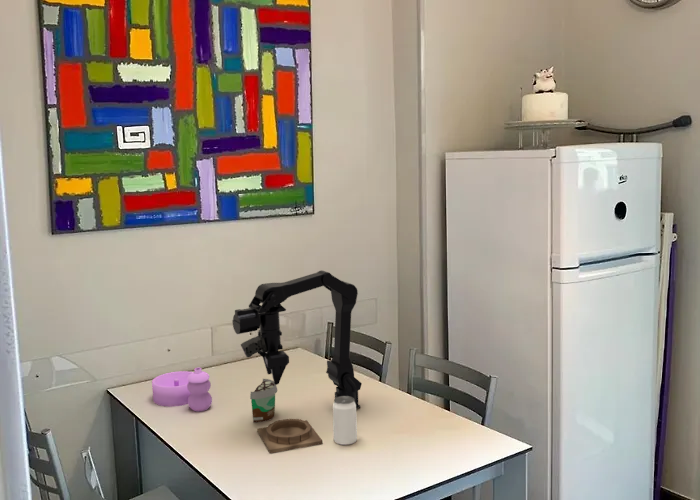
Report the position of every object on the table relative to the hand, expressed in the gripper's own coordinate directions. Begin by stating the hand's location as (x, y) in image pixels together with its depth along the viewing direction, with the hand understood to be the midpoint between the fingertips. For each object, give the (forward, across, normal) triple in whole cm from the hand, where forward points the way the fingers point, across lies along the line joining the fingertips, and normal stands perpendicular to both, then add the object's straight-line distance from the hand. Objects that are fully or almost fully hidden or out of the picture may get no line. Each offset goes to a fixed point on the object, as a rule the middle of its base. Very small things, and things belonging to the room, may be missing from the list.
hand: (273, 379), depth 207 cm
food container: (+14, -6, -1) cm, 16 cm away
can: (+14, +18, +16) cm, 28 cm away
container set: (+14, -29, -23) cm, 40 cm away
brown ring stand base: (+14, +11, +1) cm, 18 cm away
